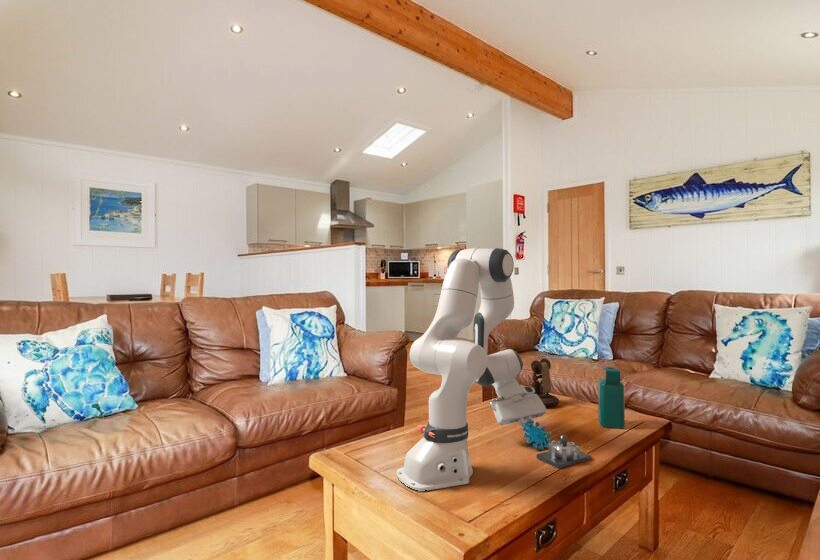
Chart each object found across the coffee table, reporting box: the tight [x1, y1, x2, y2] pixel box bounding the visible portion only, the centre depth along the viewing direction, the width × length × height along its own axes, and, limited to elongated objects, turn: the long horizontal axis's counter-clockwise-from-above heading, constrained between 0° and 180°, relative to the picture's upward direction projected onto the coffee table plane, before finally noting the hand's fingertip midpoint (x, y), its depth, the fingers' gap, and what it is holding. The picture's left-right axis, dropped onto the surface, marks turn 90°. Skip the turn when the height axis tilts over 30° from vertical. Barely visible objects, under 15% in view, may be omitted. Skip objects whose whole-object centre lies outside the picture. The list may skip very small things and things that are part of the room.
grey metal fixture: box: [536, 434, 592, 470], centre depth 138 cm, size 14×9×7 cm, turn 118°
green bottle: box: [597, 366, 626, 429], centre depth 167 cm, size 10×8×22 cm
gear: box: [521, 420, 552, 451], centre depth 149 cm, size 11×6×10 cm
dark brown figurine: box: [530, 358, 560, 408], centre depth 196 cm, size 15×15×20 cm
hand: (531, 431), depth 150 cm, fingers closed, pressing on gear
